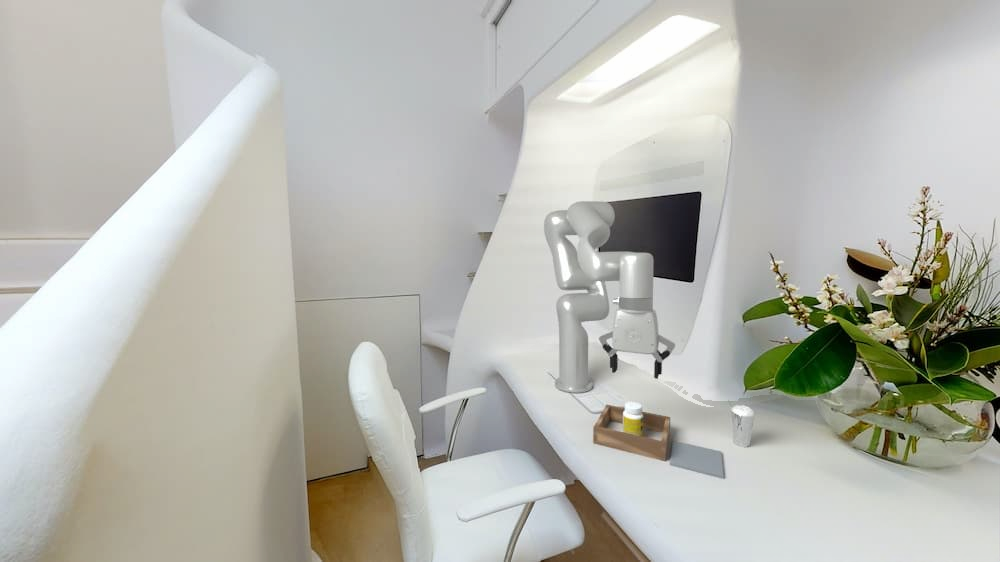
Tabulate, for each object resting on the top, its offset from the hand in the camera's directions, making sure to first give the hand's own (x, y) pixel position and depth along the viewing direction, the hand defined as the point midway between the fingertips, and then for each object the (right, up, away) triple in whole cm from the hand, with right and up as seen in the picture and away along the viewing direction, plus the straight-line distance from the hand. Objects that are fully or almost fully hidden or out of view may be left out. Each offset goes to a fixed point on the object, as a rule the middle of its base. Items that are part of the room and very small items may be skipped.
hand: (635, 373), depth 88 cm
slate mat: (+11, -17, -7) cm, 22 cm away
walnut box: (0, -16, +2) cm, 17 cm away
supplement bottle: (0, -17, +2) cm, 17 cm away
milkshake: (+25, -17, -1) cm, 30 cm away
